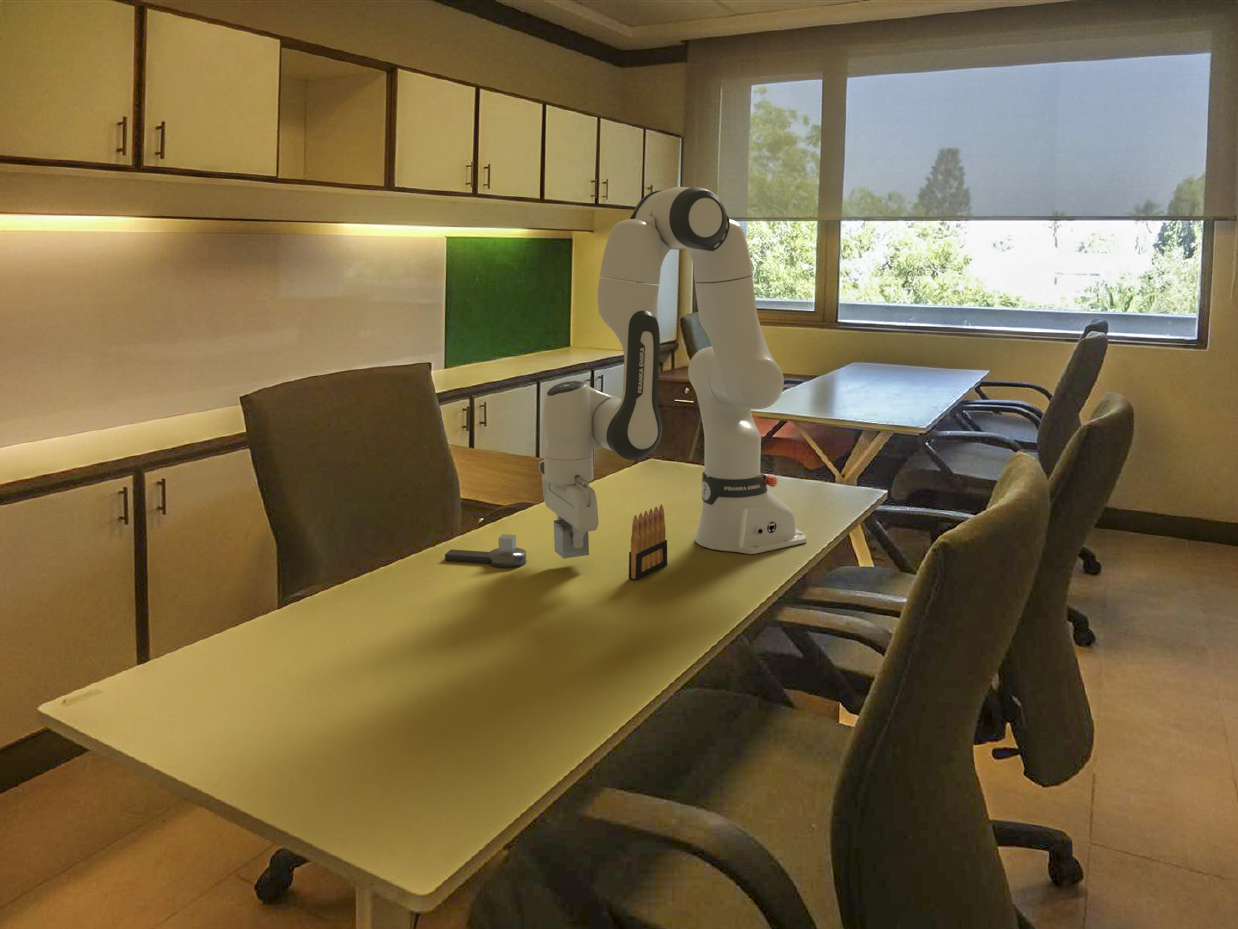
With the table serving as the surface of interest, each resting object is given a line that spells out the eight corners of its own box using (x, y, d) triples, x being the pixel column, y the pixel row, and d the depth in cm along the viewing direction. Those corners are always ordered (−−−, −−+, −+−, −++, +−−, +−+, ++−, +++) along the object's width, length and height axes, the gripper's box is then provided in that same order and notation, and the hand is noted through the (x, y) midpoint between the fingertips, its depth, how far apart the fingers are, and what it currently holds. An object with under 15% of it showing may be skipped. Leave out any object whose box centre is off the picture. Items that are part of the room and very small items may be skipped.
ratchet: (530, 558, 207) (530, 532, 205) (520, 569, 200) (519, 543, 199) (454, 553, 210) (453, 527, 209) (441, 564, 203) (440, 538, 202)
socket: (579, 547, 204) (578, 517, 203) (588, 555, 200) (588, 524, 198) (554, 551, 202) (553, 520, 201) (563, 558, 198) (562, 527, 196)
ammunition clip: (636, 581, 193) (637, 517, 191) (628, 579, 194) (628, 515, 192) (667, 565, 202) (668, 504, 199) (659, 563, 203) (659, 502, 200)
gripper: (606, 480, 189) (607, 555, 192) (566, 457, 208) (569, 526, 211) (572, 485, 187) (574, 560, 190) (535, 460, 205) (538, 530, 208)
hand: (571, 542), depth 201 cm, fingers closed on socket, 5 cm apart
